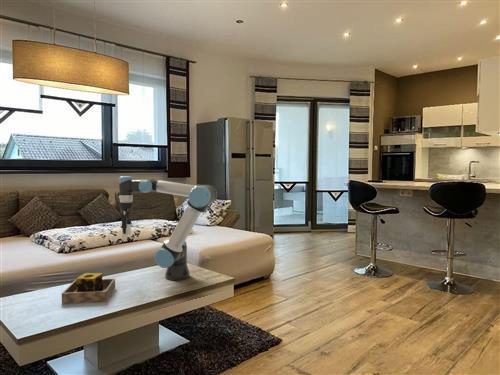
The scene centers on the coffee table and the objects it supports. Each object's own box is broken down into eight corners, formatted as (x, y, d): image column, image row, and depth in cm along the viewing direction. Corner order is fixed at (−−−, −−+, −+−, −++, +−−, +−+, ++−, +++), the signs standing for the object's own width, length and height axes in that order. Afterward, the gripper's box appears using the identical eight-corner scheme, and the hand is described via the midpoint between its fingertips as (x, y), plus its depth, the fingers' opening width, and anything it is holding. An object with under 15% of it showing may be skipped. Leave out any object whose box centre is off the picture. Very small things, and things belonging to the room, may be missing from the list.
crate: (115, 288, 214) (115, 278, 214) (106, 302, 193) (106, 291, 192) (75, 289, 211) (75, 280, 210) (61, 304, 189) (61, 293, 189)
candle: (103, 290, 206) (103, 272, 206) (95, 297, 196) (94, 278, 196) (85, 290, 207) (85, 272, 206) (76, 296, 197) (75, 278, 196)
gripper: (123, 199, 238) (123, 233, 239) (115, 204, 213) (116, 241, 215) (135, 199, 239) (136, 232, 240) (129, 204, 214) (129, 240, 216)
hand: (126, 236), depth 227 cm, fingers open, 13 cm apart
